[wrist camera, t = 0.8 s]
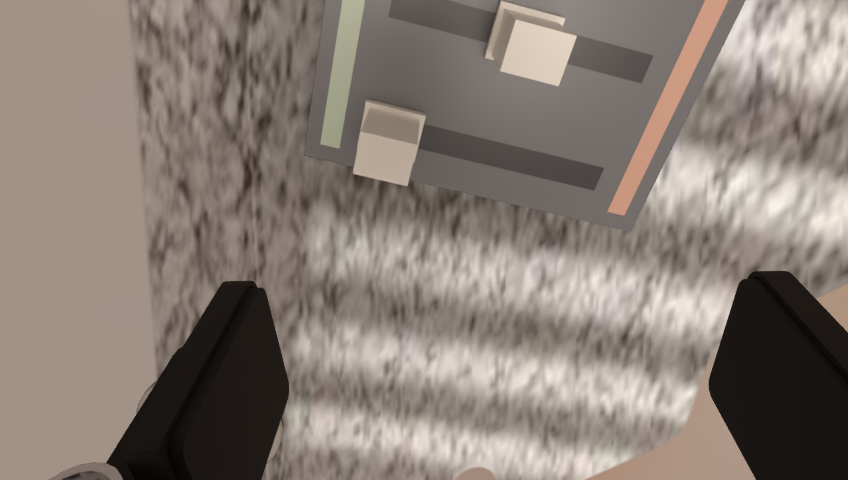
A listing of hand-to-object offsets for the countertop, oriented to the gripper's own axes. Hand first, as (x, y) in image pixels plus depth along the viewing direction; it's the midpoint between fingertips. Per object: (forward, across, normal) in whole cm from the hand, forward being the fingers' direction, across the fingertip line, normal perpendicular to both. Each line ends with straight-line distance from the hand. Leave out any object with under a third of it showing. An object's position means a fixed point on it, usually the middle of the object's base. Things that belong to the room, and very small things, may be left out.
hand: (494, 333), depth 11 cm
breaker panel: (+25, -3, -1) cm, 26 cm away
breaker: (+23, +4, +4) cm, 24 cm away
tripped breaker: (+23, -3, -1) cm, 23 cm away
